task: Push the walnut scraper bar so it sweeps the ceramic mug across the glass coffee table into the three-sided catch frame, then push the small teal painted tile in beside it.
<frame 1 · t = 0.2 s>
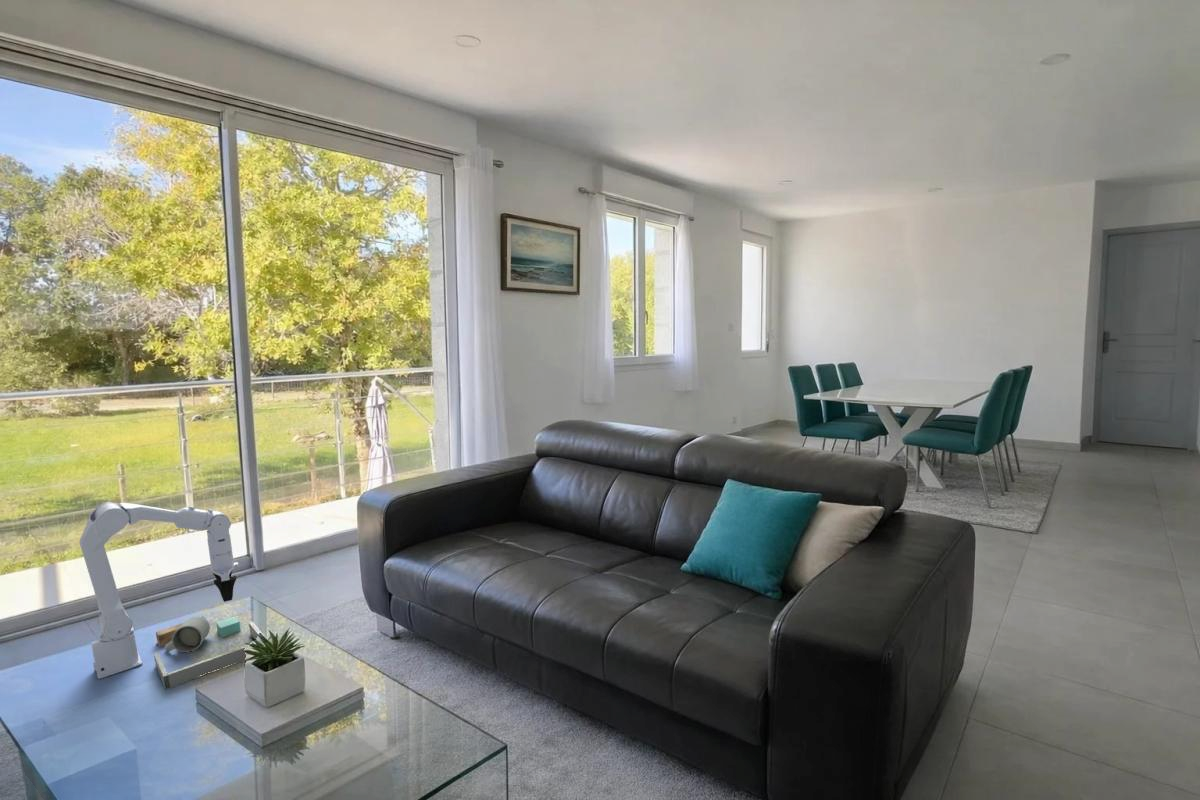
hand: (226, 595, 190), 10 cm above the table, fingers open, 7 cm apart
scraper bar: (183, 636, 188), on the table
ceramic mug: (188, 647, 182), on the table
teal tile: (229, 631, 190), on the table
catch frame: (212, 658, 175), on the table
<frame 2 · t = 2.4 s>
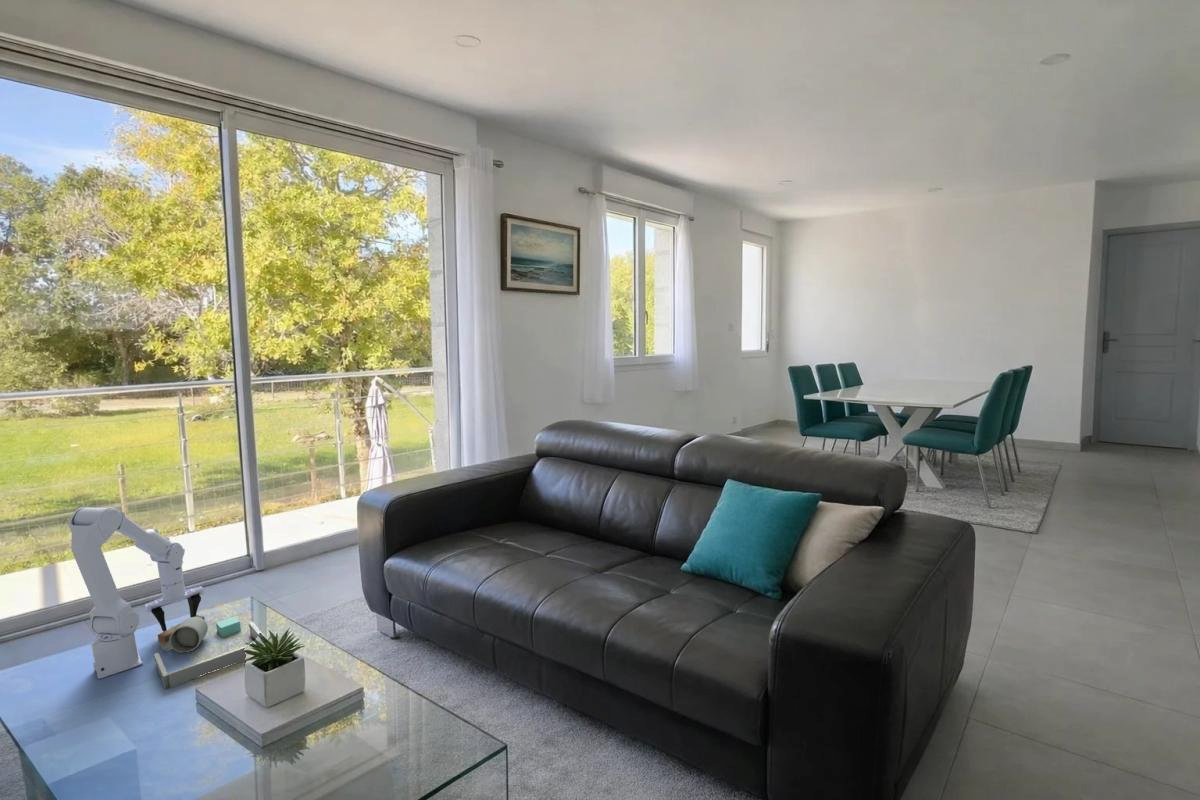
hand: (179, 625, 191), 2 cm above the table, fingers open, 7 cm apart
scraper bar: (183, 636, 188), on the table, touching gripper
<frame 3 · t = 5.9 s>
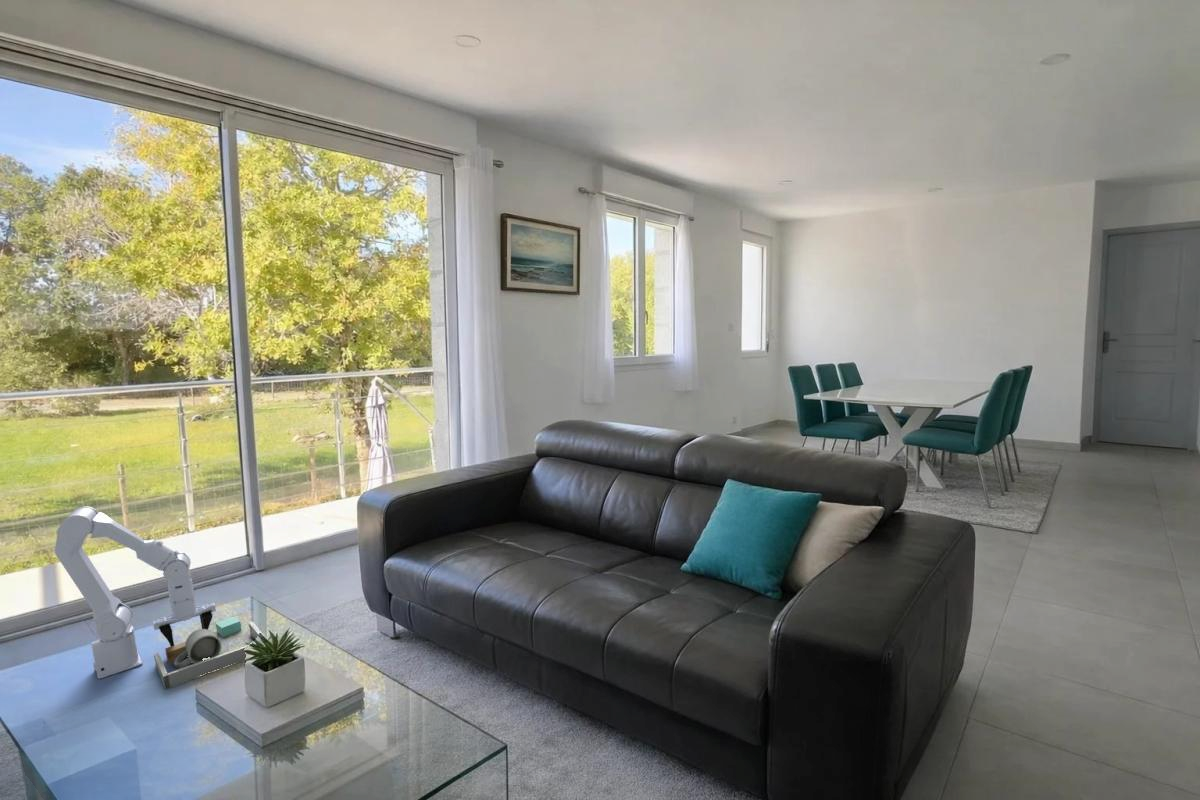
hand: (189, 643, 180), 2 cm above the table, fingers open, 7 cm apart
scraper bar: (193, 653, 178), on the table, touching ceramic mug, gripper
ceramic mug: (199, 661, 174), on the table, touching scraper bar
everything else where it was.
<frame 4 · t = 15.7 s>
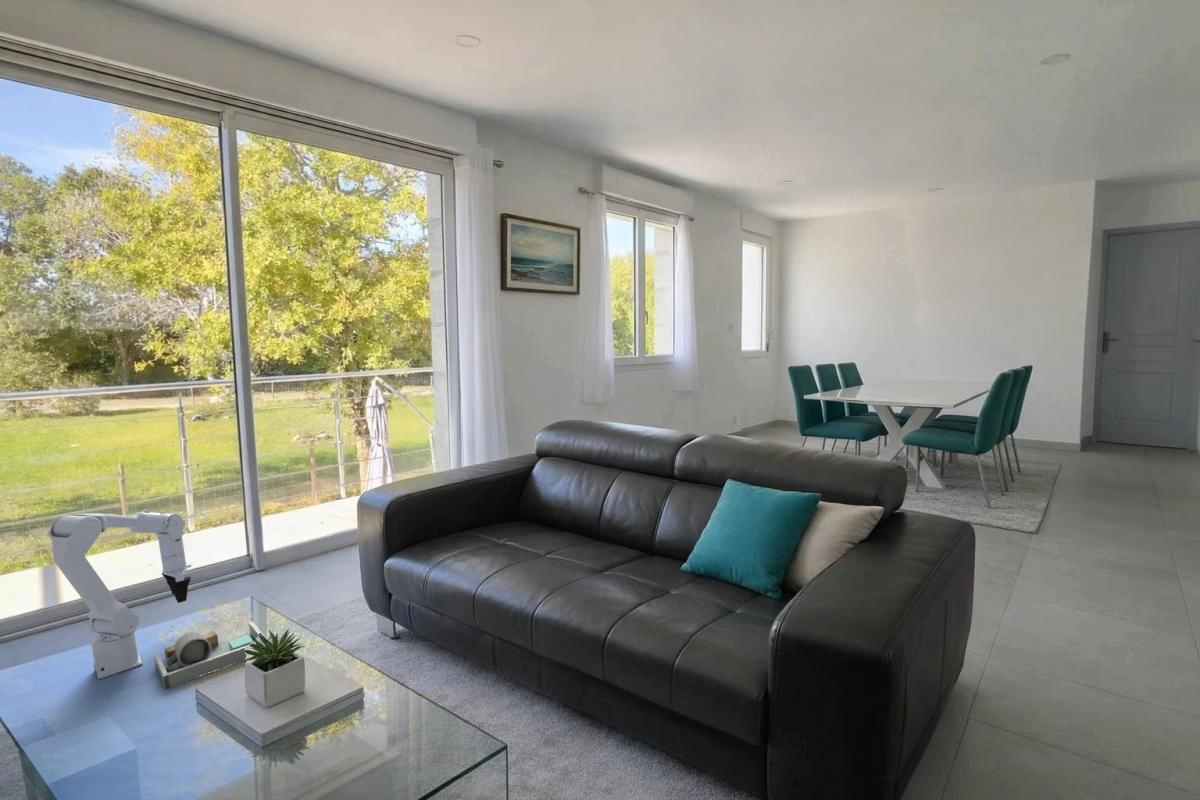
hand: (179, 597, 189), 10 cm above the table, fingers open, 7 cm apart
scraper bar: (193, 653, 178), on the table
ceramic mug: (188, 664, 172), on the table
teal tile: (242, 651, 178), on the table
at the end: ceramic mug inside the target area on the catch frame (5.7 cm from its centre), point 0.0 cm above the catch frame's base; teal tile inside the target area on the catch frame (7.0 cm from its centre), point 0.0 cm above the catch frame's base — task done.
